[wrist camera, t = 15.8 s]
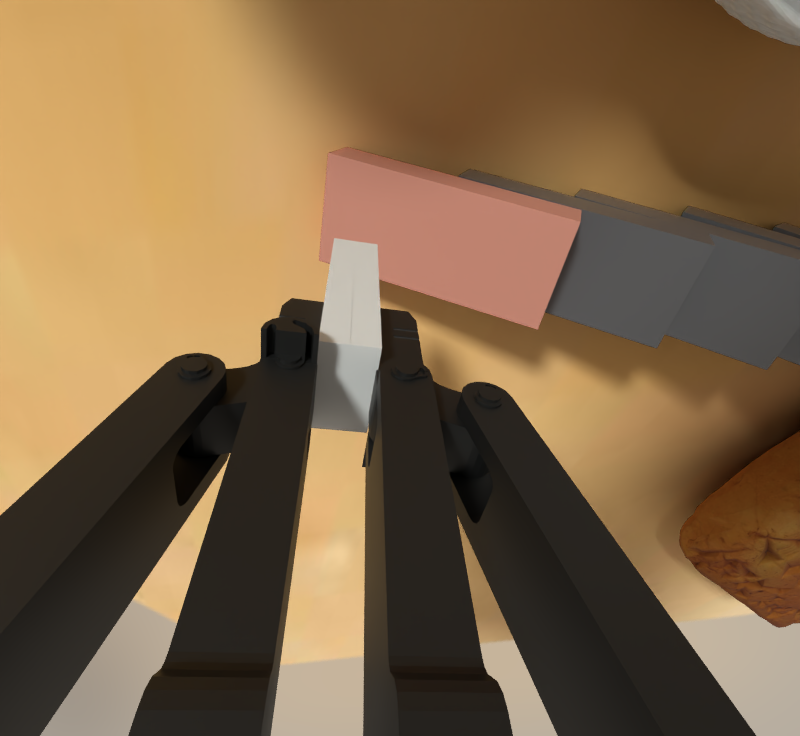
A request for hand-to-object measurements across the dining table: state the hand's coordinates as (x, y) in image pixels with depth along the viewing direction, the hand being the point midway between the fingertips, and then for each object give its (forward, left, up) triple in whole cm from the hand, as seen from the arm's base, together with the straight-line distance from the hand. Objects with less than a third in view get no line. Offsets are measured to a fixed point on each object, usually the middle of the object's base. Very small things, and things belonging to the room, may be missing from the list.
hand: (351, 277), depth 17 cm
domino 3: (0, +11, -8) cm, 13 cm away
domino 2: (0, +5, -8) cm, 9 cm away
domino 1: (0, -1, -8) cm, 8 cm away
